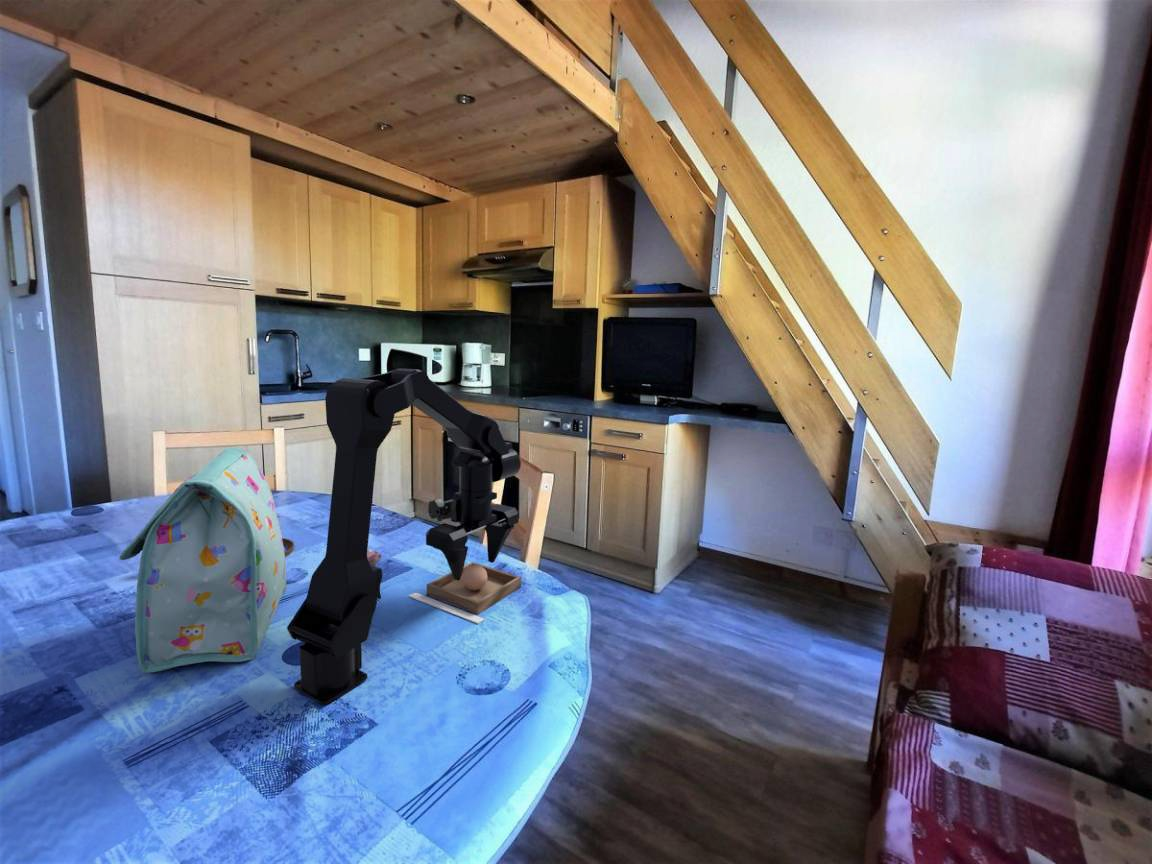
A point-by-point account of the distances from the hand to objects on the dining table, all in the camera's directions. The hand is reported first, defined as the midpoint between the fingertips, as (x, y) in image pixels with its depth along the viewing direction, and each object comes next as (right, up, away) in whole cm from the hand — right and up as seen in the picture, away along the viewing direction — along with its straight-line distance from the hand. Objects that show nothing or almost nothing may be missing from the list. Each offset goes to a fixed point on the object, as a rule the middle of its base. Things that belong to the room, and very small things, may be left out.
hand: (474, 570), depth 92 cm
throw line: (-4, -5, -6) cm, 8 cm away
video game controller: (-23, -3, +3) cm, 23 cm away
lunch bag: (-36, -5, -15) cm, 39 cm away
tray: (0, -4, +1) cm, 4 cm away
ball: (0, -4, +1) cm, 4 cm away
